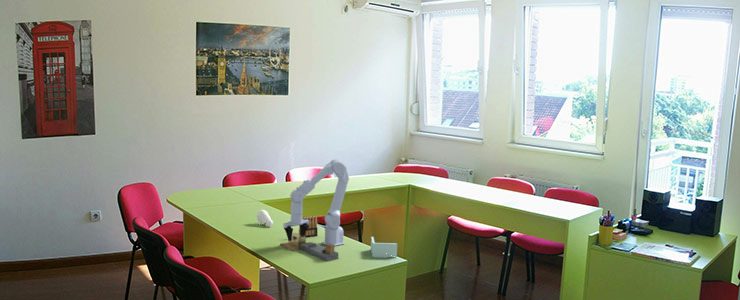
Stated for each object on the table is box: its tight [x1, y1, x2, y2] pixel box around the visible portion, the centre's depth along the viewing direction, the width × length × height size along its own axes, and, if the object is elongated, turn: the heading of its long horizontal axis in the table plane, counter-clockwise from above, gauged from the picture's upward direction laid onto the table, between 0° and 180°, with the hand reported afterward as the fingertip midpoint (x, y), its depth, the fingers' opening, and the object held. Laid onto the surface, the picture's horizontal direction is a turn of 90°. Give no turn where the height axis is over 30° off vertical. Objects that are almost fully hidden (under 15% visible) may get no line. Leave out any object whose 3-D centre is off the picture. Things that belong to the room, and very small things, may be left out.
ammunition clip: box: [298, 214, 318, 239], centre depth 306 cm, size 11×2×12 cm, turn 122°
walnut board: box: [279, 241, 300, 251], centre depth 290 cm, size 12×11×1 cm
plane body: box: [299, 241, 339, 262], centre depth 277 cm, size 7×22×7 cm, turn 42°
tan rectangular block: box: [287, 232, 307, 248], centre depth 289 cm, size 4×9×5 cm, turn 43°
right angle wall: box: [370, 236, 398, 259], centre depth 282 cm, size 12×12×8 cm
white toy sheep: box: [256, 209, 274, 228], centre depth 327 cm, size 6×8×12 cm
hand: (295, 239), depth 289 cm, fingers open, 7 cm apart
